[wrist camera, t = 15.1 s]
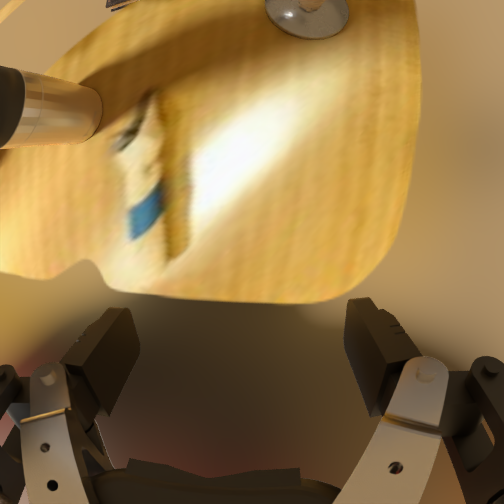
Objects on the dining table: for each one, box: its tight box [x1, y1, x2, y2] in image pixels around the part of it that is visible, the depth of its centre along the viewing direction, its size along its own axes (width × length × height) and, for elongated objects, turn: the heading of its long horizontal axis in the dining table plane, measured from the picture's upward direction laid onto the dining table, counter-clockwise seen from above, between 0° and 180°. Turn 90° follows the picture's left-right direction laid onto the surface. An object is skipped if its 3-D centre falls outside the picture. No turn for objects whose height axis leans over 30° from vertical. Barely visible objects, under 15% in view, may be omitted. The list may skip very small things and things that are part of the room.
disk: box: [265, 0, 349, 40], centre depth 28 cm, size 12×12×1 cm
